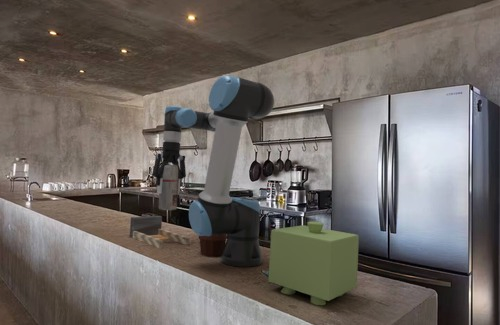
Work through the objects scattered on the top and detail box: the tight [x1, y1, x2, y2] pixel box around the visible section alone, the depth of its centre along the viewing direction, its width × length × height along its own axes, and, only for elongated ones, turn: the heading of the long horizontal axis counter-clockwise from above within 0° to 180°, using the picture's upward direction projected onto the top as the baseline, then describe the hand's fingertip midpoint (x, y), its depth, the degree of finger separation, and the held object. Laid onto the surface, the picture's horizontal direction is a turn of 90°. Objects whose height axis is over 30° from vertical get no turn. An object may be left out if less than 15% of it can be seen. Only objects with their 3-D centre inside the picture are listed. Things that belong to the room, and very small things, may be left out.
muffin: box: [198, 234, 227, 257], centre depth 135 cm, size 12×11×10 cm
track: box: [129, 215, 190, 249], centre depth 154 cm, size 27×14×9 cm, turn 44°
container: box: [268, 220, 360, 306], centre depth 97 cm, size 19×16×20 cm
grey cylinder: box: [158, 164, 178, 211], centre depth 151 cm, size 8×8×20 cm
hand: (168, 193), depth 150 cm, fingers closed on grey cylinder, 8 cm apart
